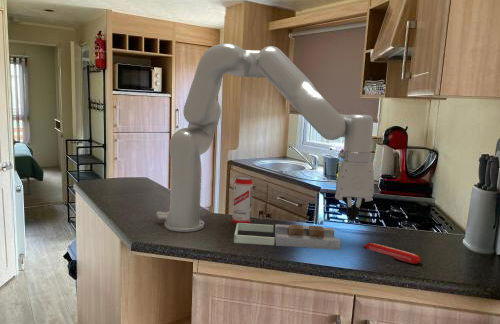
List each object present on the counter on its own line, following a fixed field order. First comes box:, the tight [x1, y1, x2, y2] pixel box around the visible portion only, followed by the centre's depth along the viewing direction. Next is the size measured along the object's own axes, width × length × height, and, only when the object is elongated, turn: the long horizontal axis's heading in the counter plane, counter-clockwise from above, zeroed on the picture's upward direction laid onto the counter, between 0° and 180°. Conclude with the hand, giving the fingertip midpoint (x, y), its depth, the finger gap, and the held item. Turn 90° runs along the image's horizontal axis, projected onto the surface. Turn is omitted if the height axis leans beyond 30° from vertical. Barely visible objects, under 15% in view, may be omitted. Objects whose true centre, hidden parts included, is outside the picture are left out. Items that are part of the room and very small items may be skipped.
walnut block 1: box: [288, 223, 304, 236], centre depth 117 cm, size 4×4×4 cm
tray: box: [233, 223, 276, 246], centre depth 118 cm, size 12×12×3 cm
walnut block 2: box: [308, 225, 324, 237], centre depth 117 cm, size 4×4×4 cm
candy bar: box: [363, 242, 423, 265], centre depth 111 cm, size 16×4×3 cm, turn 52°
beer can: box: [231, 175, 254, 225], centre depth 131 cm, size 6×6×16 cm
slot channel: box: [274, 223, 341, 251], centre depth 118 cm, size 18×12×4 cm, turn 88°
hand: (351, 219), depth 116 cm, fingers closed
